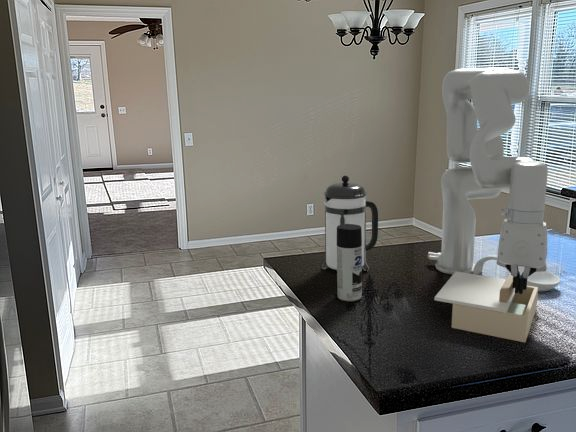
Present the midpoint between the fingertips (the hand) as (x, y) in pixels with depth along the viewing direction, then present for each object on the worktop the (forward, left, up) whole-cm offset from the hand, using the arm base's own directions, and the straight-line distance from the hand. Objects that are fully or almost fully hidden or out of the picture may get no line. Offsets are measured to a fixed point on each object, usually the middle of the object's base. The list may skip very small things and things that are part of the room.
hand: (519, 291), depth 124 cm
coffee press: (-52, +17, -8) cm, 55 cm away
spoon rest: (-4, +27, -8) cm, 29 cm away
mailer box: (-5, 0, -8) cm, 9 cm away
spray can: (-42, -4, -8) cm, 43 cm away
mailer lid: (-9, 0, -2) cm, 9 cm away
